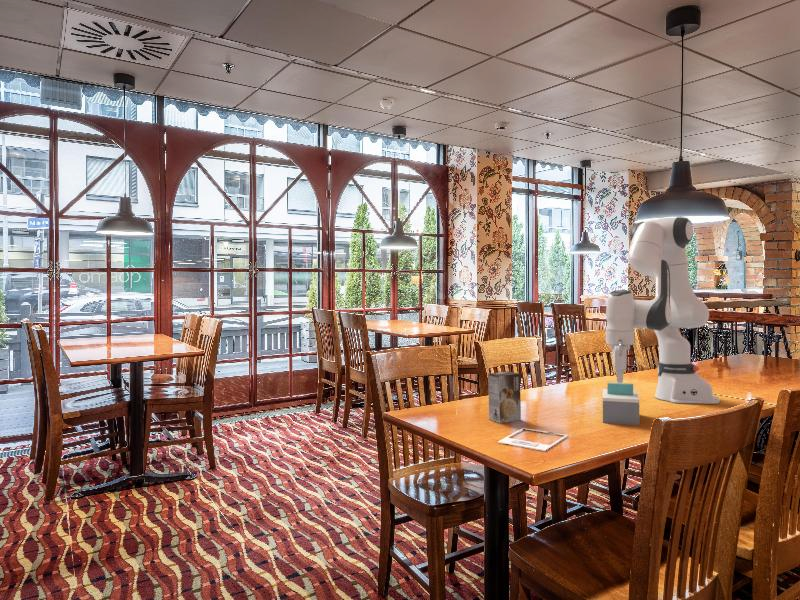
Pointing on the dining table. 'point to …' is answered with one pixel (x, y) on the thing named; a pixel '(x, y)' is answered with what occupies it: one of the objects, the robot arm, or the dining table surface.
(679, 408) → the dining table surface
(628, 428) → the dining table surface
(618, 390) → the lid
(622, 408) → the tub
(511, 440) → the photo frame
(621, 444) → the dining table surface
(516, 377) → the coffee box
